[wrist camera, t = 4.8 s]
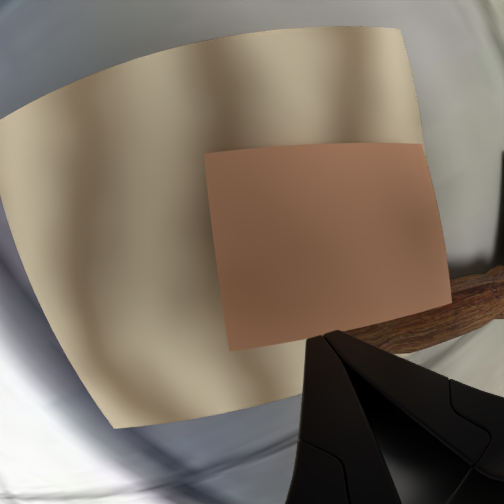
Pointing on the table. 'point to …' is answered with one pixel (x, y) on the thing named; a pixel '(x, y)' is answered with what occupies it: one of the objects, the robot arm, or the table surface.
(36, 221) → the board
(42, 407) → the table surface
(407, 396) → the robot arm
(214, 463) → the table surface
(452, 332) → the meat cleaver
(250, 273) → the tile
